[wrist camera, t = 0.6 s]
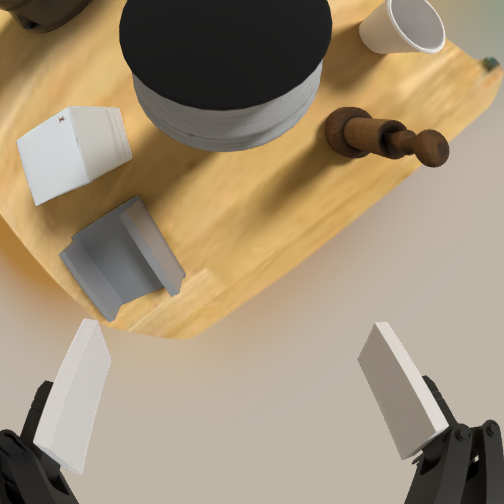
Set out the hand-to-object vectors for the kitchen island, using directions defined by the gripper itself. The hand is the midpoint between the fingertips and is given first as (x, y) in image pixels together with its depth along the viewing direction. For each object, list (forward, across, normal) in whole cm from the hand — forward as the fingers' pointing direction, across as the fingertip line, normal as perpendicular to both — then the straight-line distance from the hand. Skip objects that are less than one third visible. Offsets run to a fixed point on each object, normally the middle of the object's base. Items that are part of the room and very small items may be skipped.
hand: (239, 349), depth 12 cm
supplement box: (+26, -17, +7) cm, 31 cm away
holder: (+25, -14, -9) cm, 30 cm away
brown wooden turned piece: (+25, +15, +10) cm, 31 cm away
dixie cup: (+26, +18, +25) cm, 40 cm away
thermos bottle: (+26, -1, +12) cm, 28 cm away
